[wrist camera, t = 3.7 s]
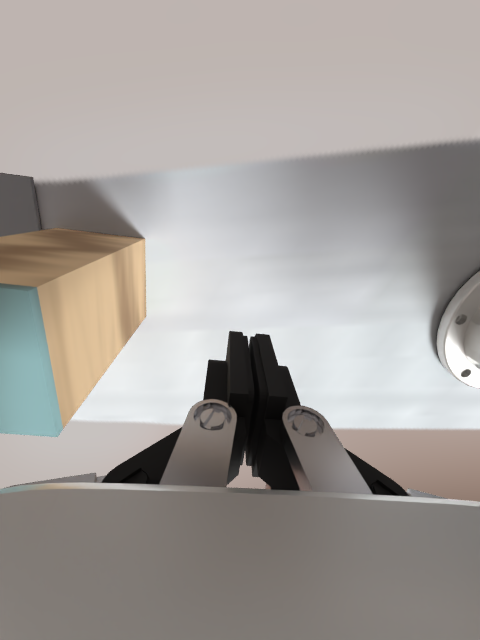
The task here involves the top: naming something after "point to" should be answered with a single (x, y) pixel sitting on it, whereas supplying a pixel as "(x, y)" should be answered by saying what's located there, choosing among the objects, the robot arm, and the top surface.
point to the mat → (18, 205)
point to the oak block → (63, 321)
